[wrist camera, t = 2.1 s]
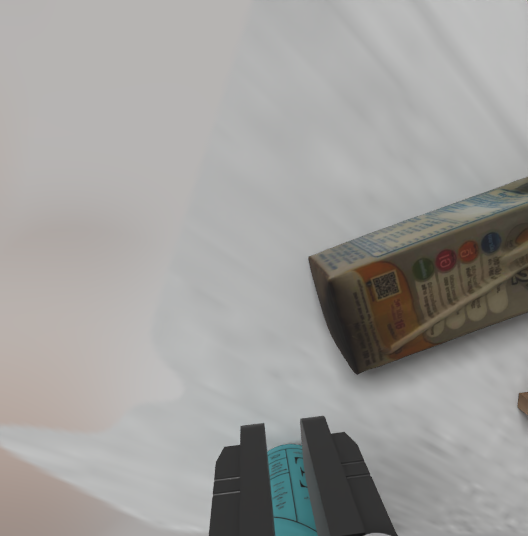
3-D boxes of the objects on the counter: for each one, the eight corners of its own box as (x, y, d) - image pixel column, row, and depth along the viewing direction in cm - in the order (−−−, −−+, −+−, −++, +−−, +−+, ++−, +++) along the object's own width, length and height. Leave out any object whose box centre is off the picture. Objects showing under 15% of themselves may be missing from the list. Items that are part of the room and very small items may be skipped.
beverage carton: (546, 264, 28) (635, 288, 22) (329, 341, 29) (354, 386, 22) (533, 171, 26) (627, 167, 20) (300, 255, 27) (318, 278, 20)
